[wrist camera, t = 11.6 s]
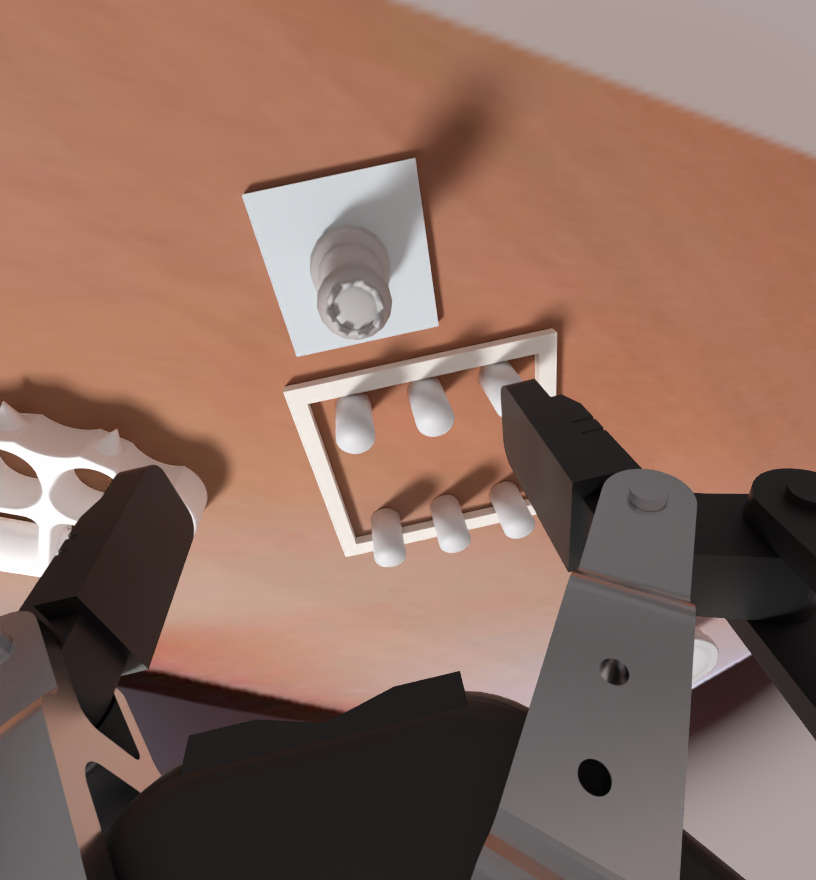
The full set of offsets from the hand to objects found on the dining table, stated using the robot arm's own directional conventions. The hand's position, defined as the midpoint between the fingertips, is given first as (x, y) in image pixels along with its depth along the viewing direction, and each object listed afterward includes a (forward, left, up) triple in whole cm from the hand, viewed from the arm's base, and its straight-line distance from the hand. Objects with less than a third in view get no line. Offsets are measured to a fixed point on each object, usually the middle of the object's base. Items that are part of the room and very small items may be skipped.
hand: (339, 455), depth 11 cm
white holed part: (-22, -11, -19) cm, 31 cm away
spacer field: (+4, -14, -18) cm, 24 cm away
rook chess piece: (+1, 0, -18) cm, 18 cm away
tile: (+1, 0, -18) cm, 18 cm away
